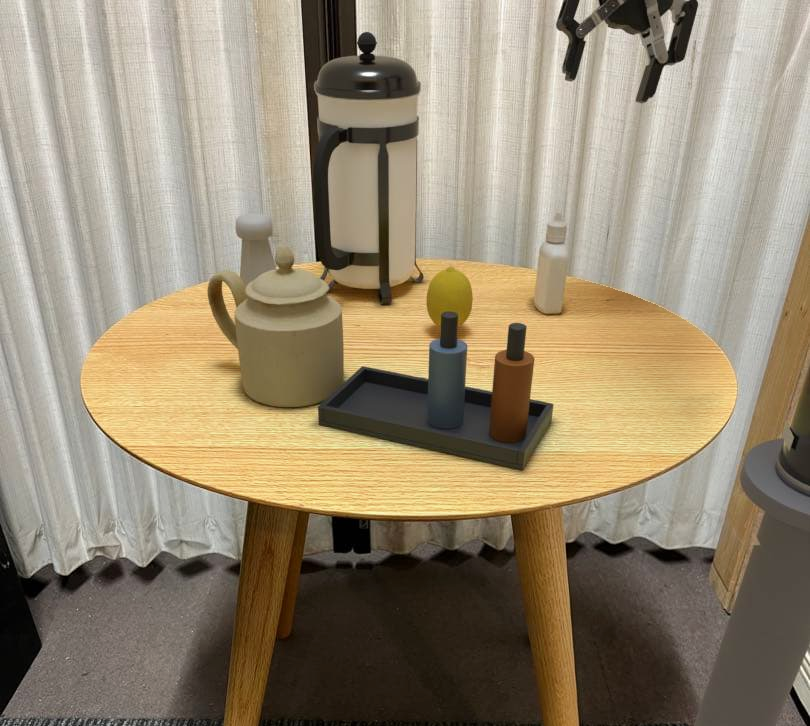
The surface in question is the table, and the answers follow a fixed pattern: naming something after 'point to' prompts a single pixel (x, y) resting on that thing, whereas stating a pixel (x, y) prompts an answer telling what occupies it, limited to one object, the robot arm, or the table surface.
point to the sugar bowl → (283, 333)
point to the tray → (407, 417)
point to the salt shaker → (254, 245)
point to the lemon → (449, 295)
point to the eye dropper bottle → (552, 268)
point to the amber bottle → (511, 388)
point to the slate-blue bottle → (447, 375)
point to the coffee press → (367, 170)
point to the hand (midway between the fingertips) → (605, 91)
